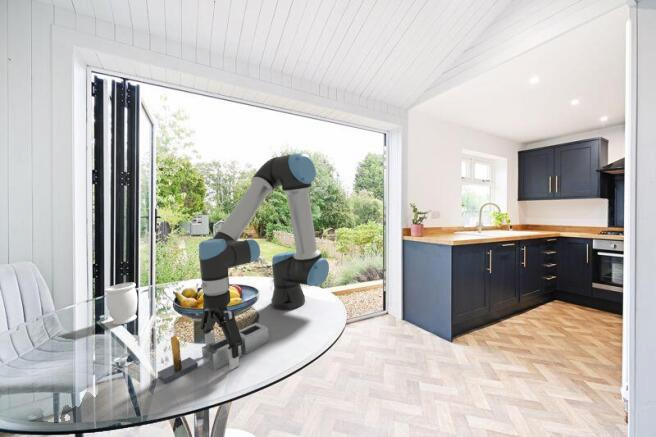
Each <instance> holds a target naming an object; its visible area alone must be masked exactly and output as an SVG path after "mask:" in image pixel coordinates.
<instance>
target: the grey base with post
mask: <svg viewBox="0 0 656 437" xmlns="http://www.w3.org/2000/svg"><path fill="white" fill-rule="evenodd" d="M170 344H171V345H170V346H171V354H172V362H173V364H172V365H169V366H167V367H166V368H164V369H163V368H162V369H160V370H159V371H157V372H156V373H157V378H158V379H159V380H160V381H161V382H162V383H163V384H165V385H166V384H168V383H170V382H172V381H174V380H176V379H178V378H180V377H183V376H184V375H186V374H187V373H190V372H192V371H194V370H196V369H198V368H199V364H198V362H197V361H196V360H195V359H194V358H192V357H190V356H189V357H186V358H184V359H182V355H181V346H180V338H179V335H173V336H171V337H170Z"/></svg>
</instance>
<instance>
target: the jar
mask: <svg viewBox="0 0 656 437" xmlns="http://www.w3.org/2000/svg"><path fill="white" fill-rule="evenodd" d="M136 286H137V285H136V283H135V282H123V283H118V284H115V285H111V286H108V287H106V288H105V289H104V292H105V293H106V306H107V310H108V312H109V315H110V317H111V318H112V320H113V321H112V325H116V326H117V325H118V326H119V325H124V324H128V323H131V322H133V321H135V320H136V319H137V317H138V316H137V315H136V313H137V310H138V294H137V289H136Z"/></svg>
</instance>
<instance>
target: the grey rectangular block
mask: <svg viewBox="0 0 656 437" xmlns="http://www.w3.org/2000/svg"><path fill="white" fill-rule="evenodd" d="M228 347H229V344H228V342H227V339H226V337H225V336H224V337H222V338H219V339H217V340H215V342H213V343H210V344H208V345H206V344H205V345H204V346H201V352H202V353H201V354H202V361H203V362H202V363H203V364H204V365H205V366H206V367H208V368H210V369H211V370H212V371H214V372H215V371H217V370H219V369H221V368H223V367H225V366H226V365H229V354H228ZM238 352H239V359H240V358H242V355H243V354H242V353H243V352H241V345H240V346H238Z"/></svg>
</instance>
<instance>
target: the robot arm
mask: <svg viewBox="0 0 656 437" xmlns="http://www.w3.org/2000/svg"><path fill="white" fill-rule="evenodd" d="M315 166H316V165H315V164H314V161H313V160H312V159H311V158H310V156H308V155H307V154H305V153H293V154H287V155H280V156H275V157H272V158H270V159H268V160H267V161H266V162H264V163H263V165H262V166H260V167H259V168H258V170H257V171H256V173H254V175H253V176H252V178H251V180H250V185H249V186H248V188H247V189H246V191H245V192H244V194H243V195H242V197H240V199H239V201H238V202H237V204H236V205H235V206H234V208H233V209H232V210H231V213H230V214H229V215H228V216H227V217H226V219H225V220H224V222H223V224H221V227H219V229H218V231H217V232H216V233H215V235H214V236H213V238H208V239H206V240H203V241H201V242H199V244H198V259H199V268H200V278H201V284H200V287H201V288H202V290H201V291H202V293H203V294H202V299H203V300H202V301H203V304H202V315H201V321H200V325H199V326H200V328H199V329H200V330H201V331H203V332H202V333H203V334H204V340H205V341H204V342H205V346H206V345H208V344H210V343H213V342H215V341H216V338H215V331H214V330H215V325H216V324H217V325H218V328H221V330H222V332H223V335H224V337H226V339H227V342H228V344H229V347H228V354H229V363H228V365H229V370H230V371H231V370H234V369H235V368H238V367H239V366H240V358H239V352H238V346H240V345H242V344H243V342H242V339H241V335H240V332H239V330H240V329H239V327H238V324H237V321H236V317H235V311H234V310H233V309H232V310H228V305H229V304H230V303H231V291H230V290H229V289H230V279H229V278H230V277H229V269H231V268H234V267H235V268H236V267H239V266H242V265H247V264H251V263H252V262H256V261H257V260H258V259H259V258H260V255H261V248H260V245H259V243H258V242H257V241H256V240H255V239H244V240H239V239H240V237H241V236H242V234H243V232H244V231H245V230H246V229H247V227H248V225H249V224H250V222H251V220H252V219H253V217H255V214H256V213H257V212H258V210H259V208H260V207H261V205H262V204H263V202H264V201H265V199H266V198H267V196H268V195H270V194H272V193H273V191H275V189H276V188H278V187H280V186H281V188H282V192H283V193H285V194H286V196H287V202H288V207H289V213H290V214H289V215H290V220H291V221H290V222H291V226H292V234H293V239H294V240H293V241H294V245H295V246H294V247H295V250H292V251H287V252H282V253H277V254H275V255H273V256H272V260H271V261H272V263H271V267H272V268H271V269H272V277H273V291H272V292H273V293H272V296H271V299H270V300H271V302H270V303H271V307H272V308H273V309H277V310H282V311H283V310H292V309H293V310H294V309H297V308H299V307H302V306H303V305H305V303H306V296H305V294H304V292H303V288H302V286H301V285H304V286H308V287H320V286H321V285H323V284H324V283H325V282H326V279H327V278H328V276H329V272H330V264H329V262H328V260H327V259H326V258H324V257H322V255H323V254H322V251H321V250H320V249H318V247H317V242H316V234H315V226H314V220H313V214H312V213H313V212H312V207H311V200H310V190H311V189H312V187H313V186H312V183H313V182H314V181H315V179H316V175H317V174H316V173H317V170H316V167H315Z"/></svg>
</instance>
